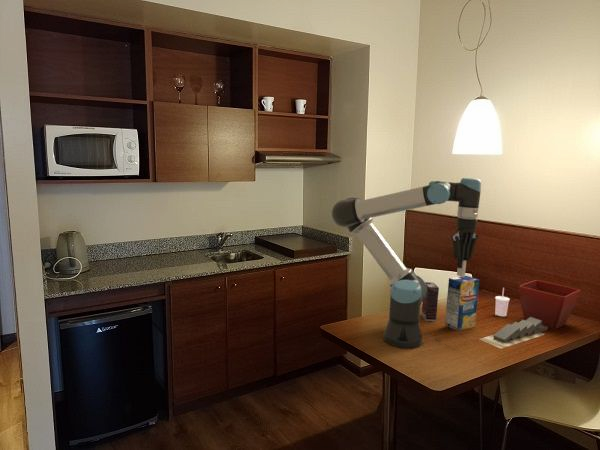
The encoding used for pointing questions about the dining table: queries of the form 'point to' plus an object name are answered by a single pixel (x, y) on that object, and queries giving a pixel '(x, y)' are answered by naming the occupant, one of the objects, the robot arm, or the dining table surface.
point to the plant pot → (548, 302)
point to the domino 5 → (540, 329)
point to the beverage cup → (501, 305)
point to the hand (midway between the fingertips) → (460, 275)
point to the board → (517, 340)
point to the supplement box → (430, 302)
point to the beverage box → (462, 302)
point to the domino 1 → (506, 333)
